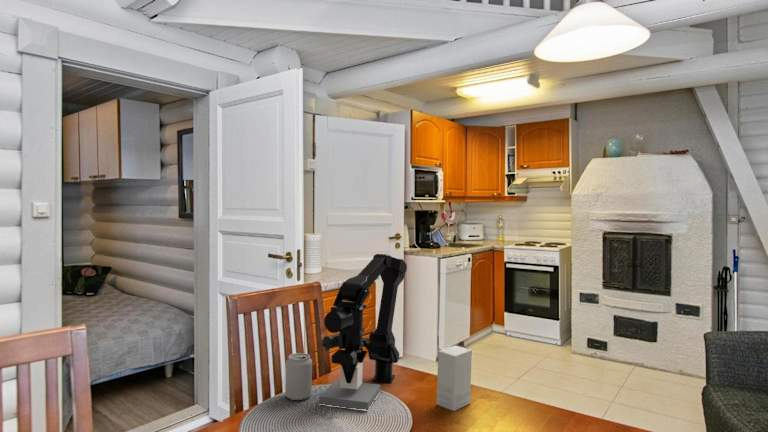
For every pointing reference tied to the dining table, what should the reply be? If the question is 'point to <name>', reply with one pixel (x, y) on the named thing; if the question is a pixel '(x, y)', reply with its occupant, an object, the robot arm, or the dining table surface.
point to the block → (355, 380)
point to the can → (298, 376)
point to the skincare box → (454, 377)
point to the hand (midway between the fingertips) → (351, 379)
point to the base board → (350, 395)
